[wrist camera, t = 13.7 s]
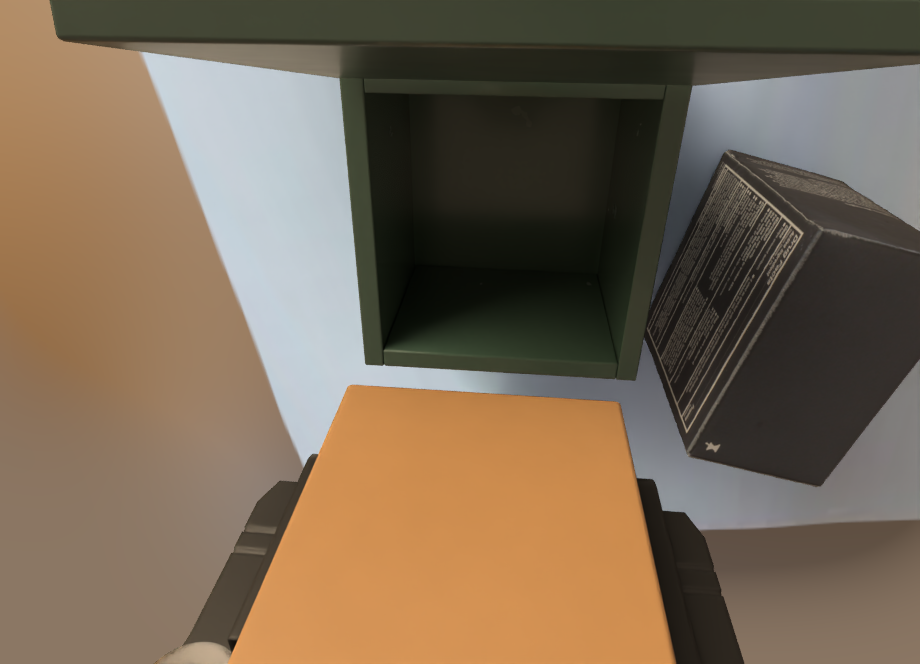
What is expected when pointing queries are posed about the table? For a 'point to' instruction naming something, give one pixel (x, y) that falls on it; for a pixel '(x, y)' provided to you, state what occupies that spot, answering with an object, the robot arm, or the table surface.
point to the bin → (509, 220)
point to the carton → (464, 539)
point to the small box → (784, 319)
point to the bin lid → (512, 37)
